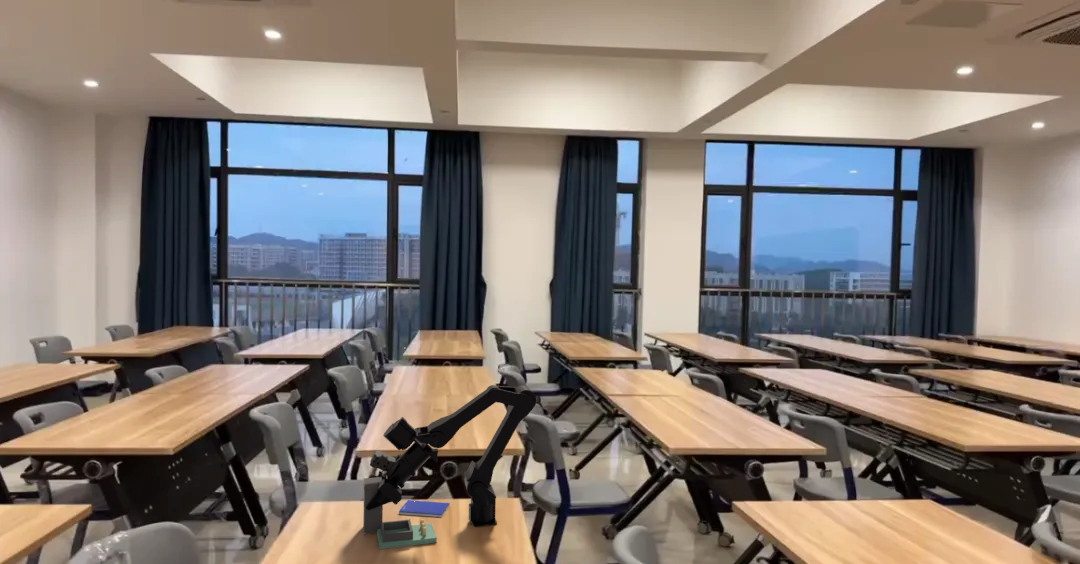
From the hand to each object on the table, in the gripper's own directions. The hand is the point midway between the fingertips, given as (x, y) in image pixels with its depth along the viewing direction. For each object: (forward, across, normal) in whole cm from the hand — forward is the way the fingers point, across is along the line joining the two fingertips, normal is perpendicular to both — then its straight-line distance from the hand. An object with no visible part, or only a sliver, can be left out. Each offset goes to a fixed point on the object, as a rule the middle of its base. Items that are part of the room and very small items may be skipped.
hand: (367, 504), depth 167 cm
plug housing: (+4, 0, +6) cm, 7 cm away
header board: (-2, +7, +12) cm, 14 cm away
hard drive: (-6, -11, +16) cm, 20 cm away
